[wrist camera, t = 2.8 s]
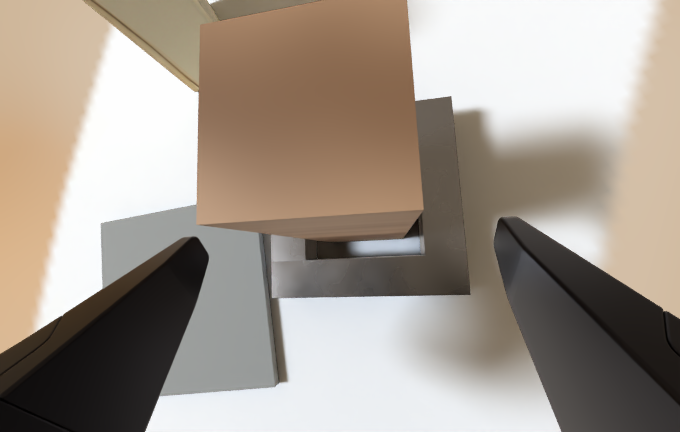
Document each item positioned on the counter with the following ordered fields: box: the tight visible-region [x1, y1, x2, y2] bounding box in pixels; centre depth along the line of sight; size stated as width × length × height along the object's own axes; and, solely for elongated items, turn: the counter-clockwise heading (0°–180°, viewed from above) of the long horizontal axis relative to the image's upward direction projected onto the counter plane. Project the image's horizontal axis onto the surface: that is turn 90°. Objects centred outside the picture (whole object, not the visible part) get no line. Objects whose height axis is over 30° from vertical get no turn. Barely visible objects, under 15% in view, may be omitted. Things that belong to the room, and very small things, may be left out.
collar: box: [271, 96, 470, 298], centre depth 17 cm, size 10×10×2 cm
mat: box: [101, 205, 279, 396], centre depth 20 cm, size 12×12×1 cm
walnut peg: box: [196, 0, 424, 242], centre depth 12 cm, size 4×4×13 cm
